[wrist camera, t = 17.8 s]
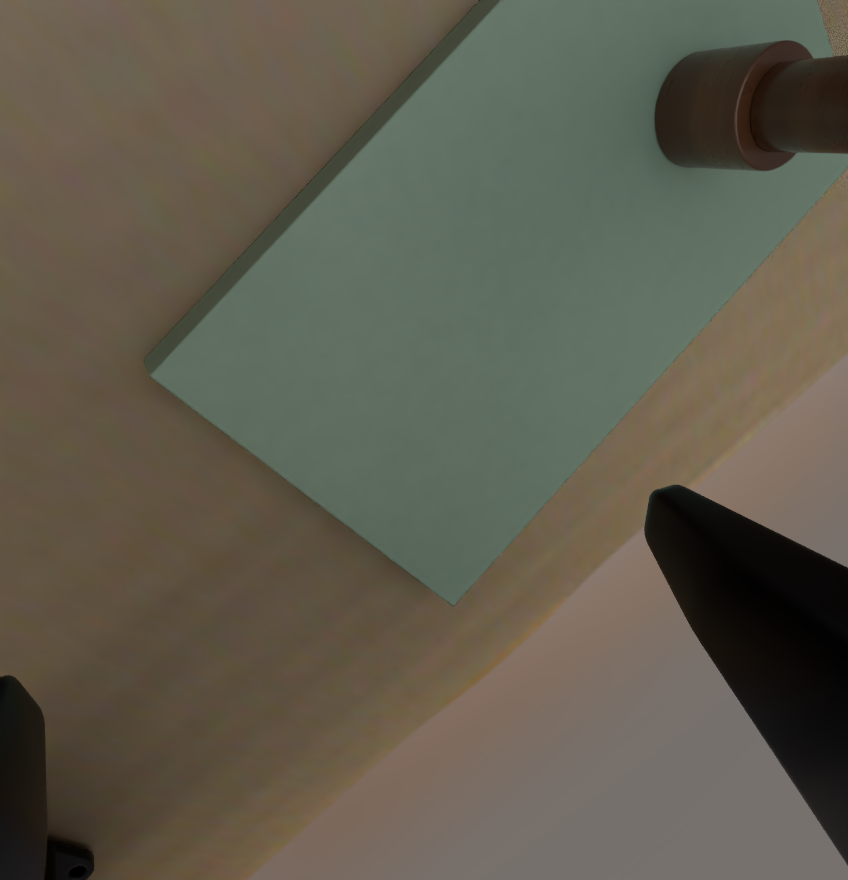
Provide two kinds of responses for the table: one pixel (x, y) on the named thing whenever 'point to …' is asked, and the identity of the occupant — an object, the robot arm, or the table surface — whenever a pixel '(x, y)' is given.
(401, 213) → the board
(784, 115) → the stirrer
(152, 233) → the table surface
